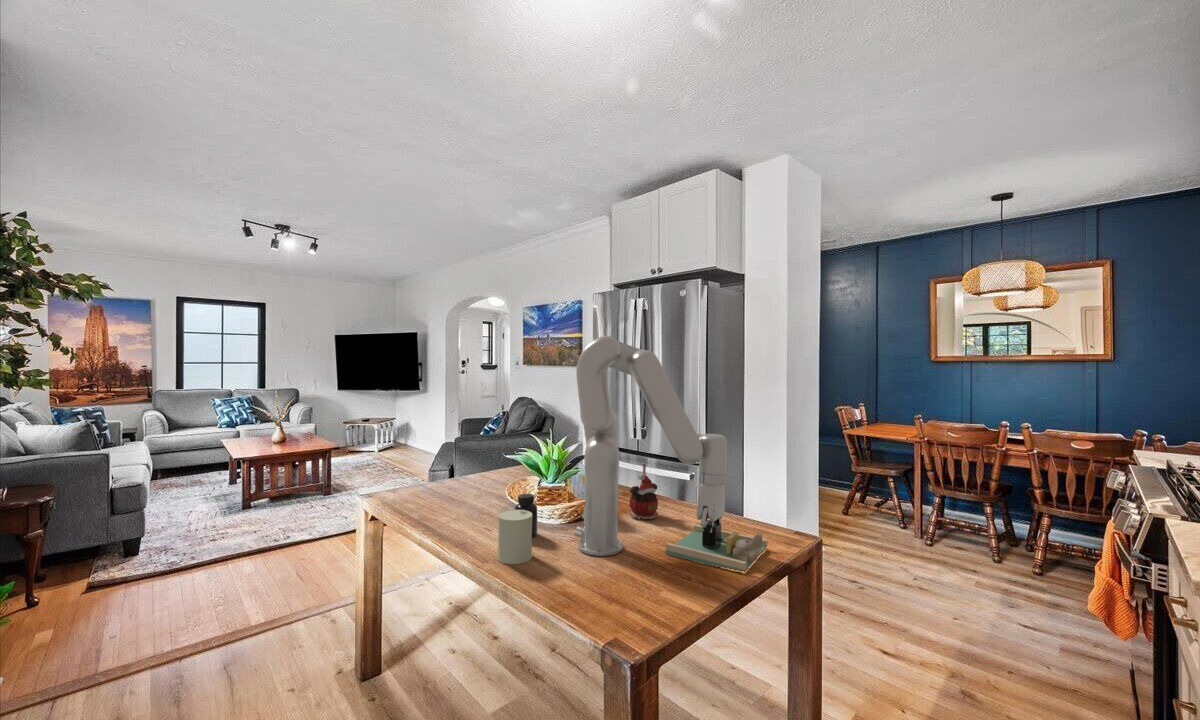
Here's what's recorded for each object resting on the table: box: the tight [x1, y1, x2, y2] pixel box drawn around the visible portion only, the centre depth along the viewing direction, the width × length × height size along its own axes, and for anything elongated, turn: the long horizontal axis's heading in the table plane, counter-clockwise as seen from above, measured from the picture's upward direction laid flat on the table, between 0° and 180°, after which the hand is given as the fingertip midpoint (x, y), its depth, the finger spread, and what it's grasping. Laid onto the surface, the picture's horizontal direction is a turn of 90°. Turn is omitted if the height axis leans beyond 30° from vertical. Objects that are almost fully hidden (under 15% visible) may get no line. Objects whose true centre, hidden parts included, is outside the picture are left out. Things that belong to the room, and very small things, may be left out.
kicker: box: [702, 522, 740, 554], centre depth 140 cm, size 9×6×6 cm
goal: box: [733, 533, 763, 563], centre depth 135 cm, size 5×9×5 cm, turn 146°
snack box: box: [566, 462, 585, 520], centre depth 175 cm, size 21×6×15 cm, turn 22°
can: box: [497, 509, 533, 565], centre depth 135 cm, size 9×9×12 cm
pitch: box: [665, 524, 769, 572], centre depth 140 cm, size 22×20×3 cm
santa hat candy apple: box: [629, 463, 659, 520], centre depth 171 cm, size 11×9×18 cm
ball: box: [735, 540, 747, 551], centre depth 136 cm, size 4×4×4 cm
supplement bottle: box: [514, 493, 538, 539], centre depth 151 cm, size 7×7×12 cm
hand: (711, 542), depth 141 cm, fingers closed on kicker, 4 cm apart
